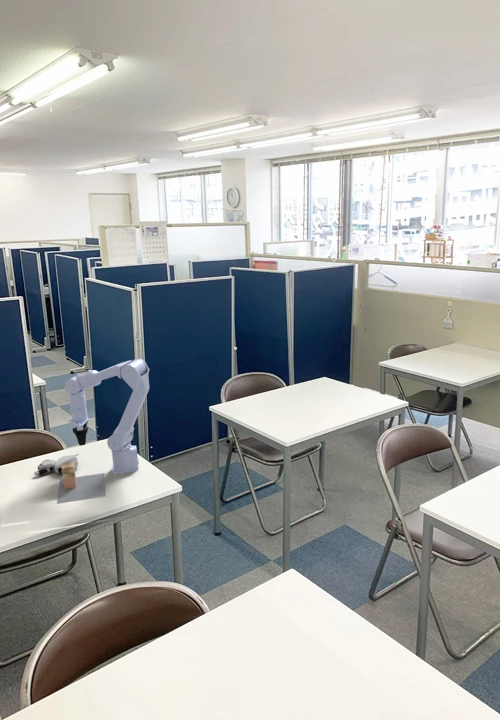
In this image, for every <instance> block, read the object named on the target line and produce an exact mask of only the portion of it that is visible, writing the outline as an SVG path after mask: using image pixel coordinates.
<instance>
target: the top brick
mask: <svg viewBox="0 0 500 720" xmlns="http://www.w3.org/2000/svg"><path fill="white" fill-rule="evenodd" d="M75 474H76V468H75V467H74V462H69V463H62V479H64V478H71V477H75Z"/></svg>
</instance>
